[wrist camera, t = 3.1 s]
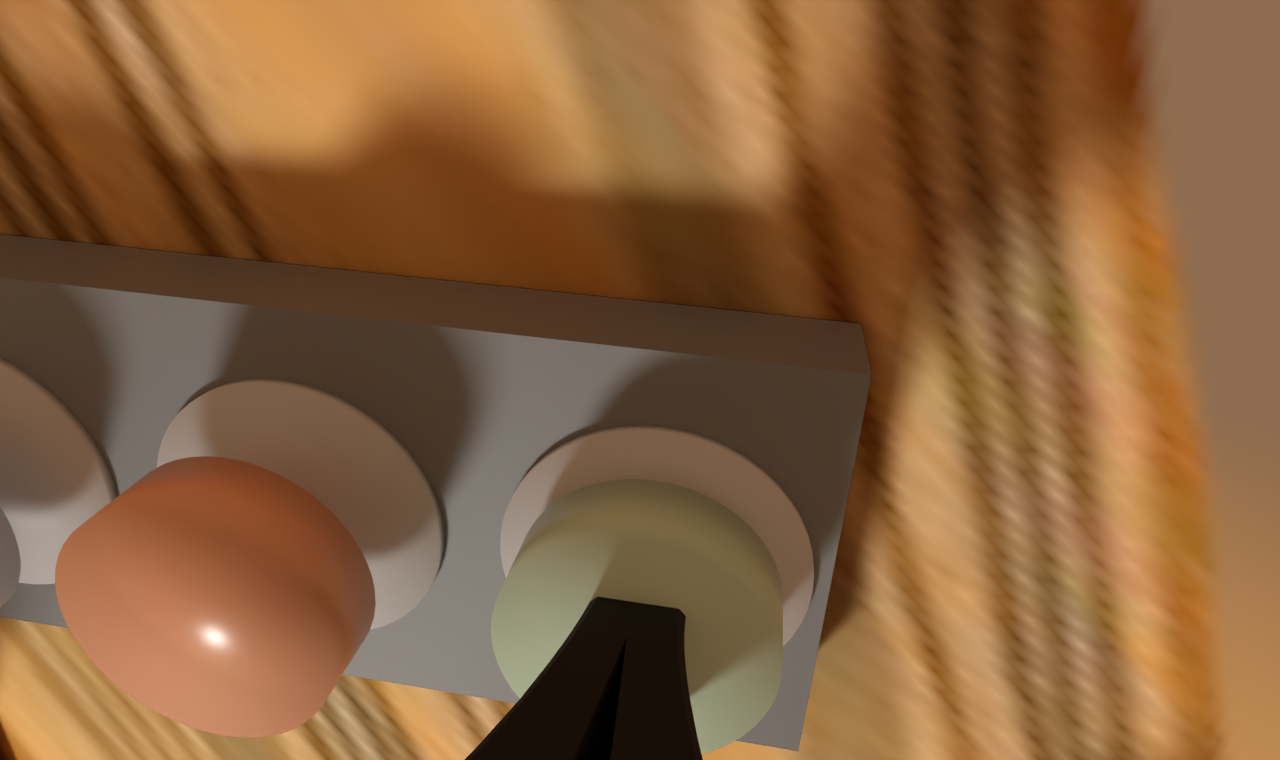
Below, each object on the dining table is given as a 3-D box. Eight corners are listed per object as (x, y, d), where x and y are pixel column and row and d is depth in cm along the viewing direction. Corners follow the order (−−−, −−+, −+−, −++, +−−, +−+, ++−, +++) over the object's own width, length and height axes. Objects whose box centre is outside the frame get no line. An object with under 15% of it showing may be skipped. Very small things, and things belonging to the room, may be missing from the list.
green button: (519, 670, 15) (495, 733, 13) (514, 462, 13) (485, 513, 11) (765, 709, 14) (764, 780, 13) (801, 500, 12) (802, 558, 11)
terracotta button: (155, 650, 15) (96, 712, 13) (93, 439, 13) (17, 489, 11) (387, 689, 14) (349, 758, 13) (360, 476, 12) (312, 531, 11)
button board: (0, 546, 20) (-87, 609, 18) (-123, 220, 16) (-250, 254, 14) (797, 672, 17) (798, 759, 15) (860, 323, 14) (872, 380, 12)
